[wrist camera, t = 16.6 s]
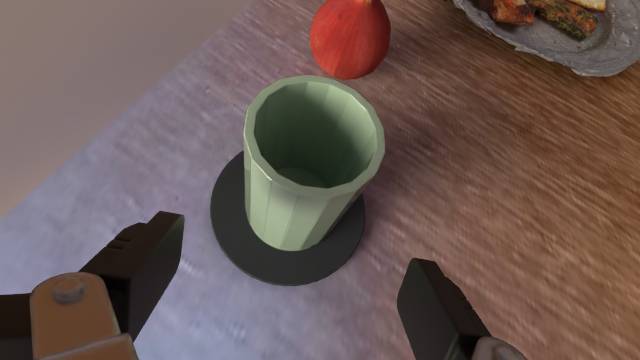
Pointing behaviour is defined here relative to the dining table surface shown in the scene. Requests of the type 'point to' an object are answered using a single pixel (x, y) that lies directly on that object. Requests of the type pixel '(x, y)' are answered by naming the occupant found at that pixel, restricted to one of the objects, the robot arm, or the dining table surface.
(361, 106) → the cup
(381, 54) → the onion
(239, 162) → the coaster
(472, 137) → the dining table surface
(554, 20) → the food plate
